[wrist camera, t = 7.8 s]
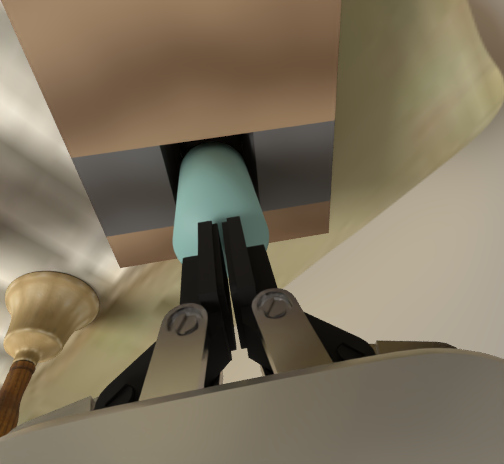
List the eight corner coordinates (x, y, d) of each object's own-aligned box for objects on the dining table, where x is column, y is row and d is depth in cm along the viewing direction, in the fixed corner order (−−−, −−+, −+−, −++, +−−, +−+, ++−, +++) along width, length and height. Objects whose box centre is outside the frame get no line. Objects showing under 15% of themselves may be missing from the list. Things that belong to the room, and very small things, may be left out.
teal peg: (172, 146, 17) (161, 208, 12) (242, 137, 18) (265, 191, 12) (187, 208, 20) (184, 285, 14) (249, 198, 20) (271, 269, 14)
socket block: (-7, -206, 14) (-177, -399, 8) (291, -224, 15) (363, -409, 9) (138, 207, 27) (120, 267, 20) (297, 183, 28) (328, 232, 21)
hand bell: (83, 264, 29) (-8, 461, 16) (110, 323, 34) (56, 512, 21) (-12, 277, 28) (-188, 494, 15) (30, 335, 33) (-79, 539, 20)
